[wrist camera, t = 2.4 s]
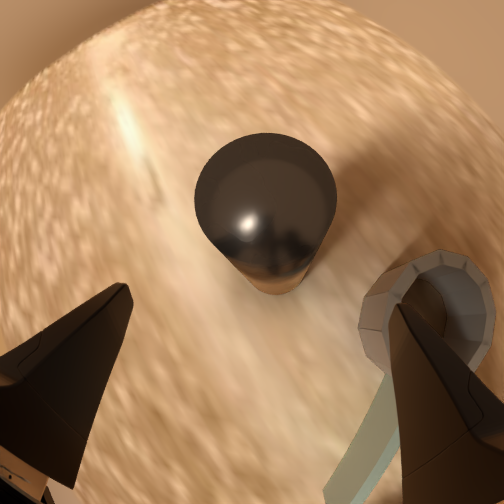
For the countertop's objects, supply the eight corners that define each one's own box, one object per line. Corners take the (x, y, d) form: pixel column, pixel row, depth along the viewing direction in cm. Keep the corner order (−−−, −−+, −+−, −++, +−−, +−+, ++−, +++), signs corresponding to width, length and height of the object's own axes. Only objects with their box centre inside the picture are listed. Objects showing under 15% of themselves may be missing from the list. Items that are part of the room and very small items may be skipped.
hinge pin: (299, 300, 19) (324, 278, 8) (238, 287, 20) (178, 247, 8) (311, 241, 20) (344, 145, 8) (252, 229, 21) (215, 126, 9)
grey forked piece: (452, 488, 15) (478, 513, 10) (308, 490, 16) (313, 529, 11) (507, 287, 18) (546, 279, 13) (370, 256, 19) (395, 238, 15)
